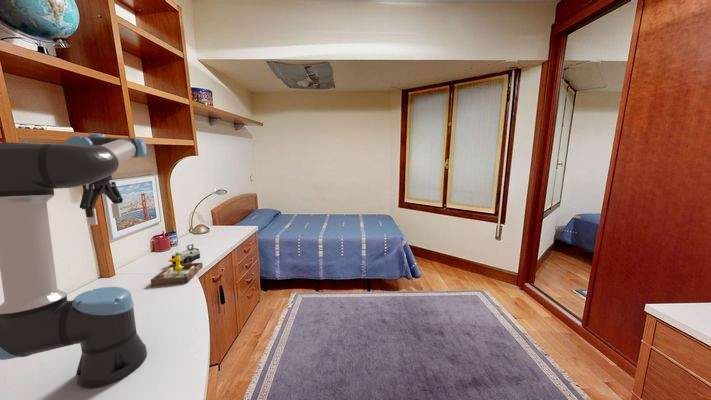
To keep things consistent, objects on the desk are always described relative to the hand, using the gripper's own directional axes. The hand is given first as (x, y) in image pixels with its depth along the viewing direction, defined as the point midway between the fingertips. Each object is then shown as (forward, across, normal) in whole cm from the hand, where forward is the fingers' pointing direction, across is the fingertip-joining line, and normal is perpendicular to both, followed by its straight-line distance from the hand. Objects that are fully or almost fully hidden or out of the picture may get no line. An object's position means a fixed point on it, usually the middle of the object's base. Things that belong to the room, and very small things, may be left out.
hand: (105, 221), depth 111 cm
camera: (+35, +37, -14) cm, 53 cm away
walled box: (+35, +17, -18) cm, 43 cm away
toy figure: (+34, +17, -17) cm, 42 cm away
